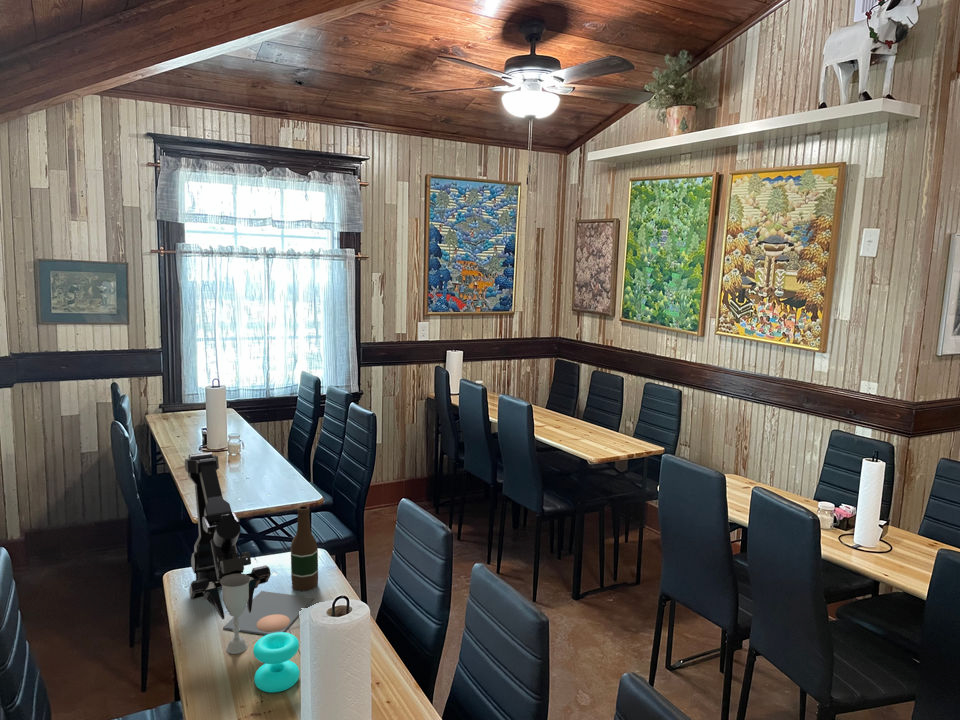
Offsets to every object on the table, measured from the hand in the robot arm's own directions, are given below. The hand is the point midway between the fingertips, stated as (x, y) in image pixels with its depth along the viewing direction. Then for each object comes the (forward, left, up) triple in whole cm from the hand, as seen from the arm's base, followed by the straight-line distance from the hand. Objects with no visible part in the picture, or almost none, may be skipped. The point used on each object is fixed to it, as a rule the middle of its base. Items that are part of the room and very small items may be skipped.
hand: (236, 615), depth 172 cm
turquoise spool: (+15, -9, -10) cm, 20 cm away
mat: (-1, +18, -9) cm, 20 cm away
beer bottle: (+1, +35, -10) cm, 36 cm away
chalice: (-1, +1, -10) cm, 10 cm away
